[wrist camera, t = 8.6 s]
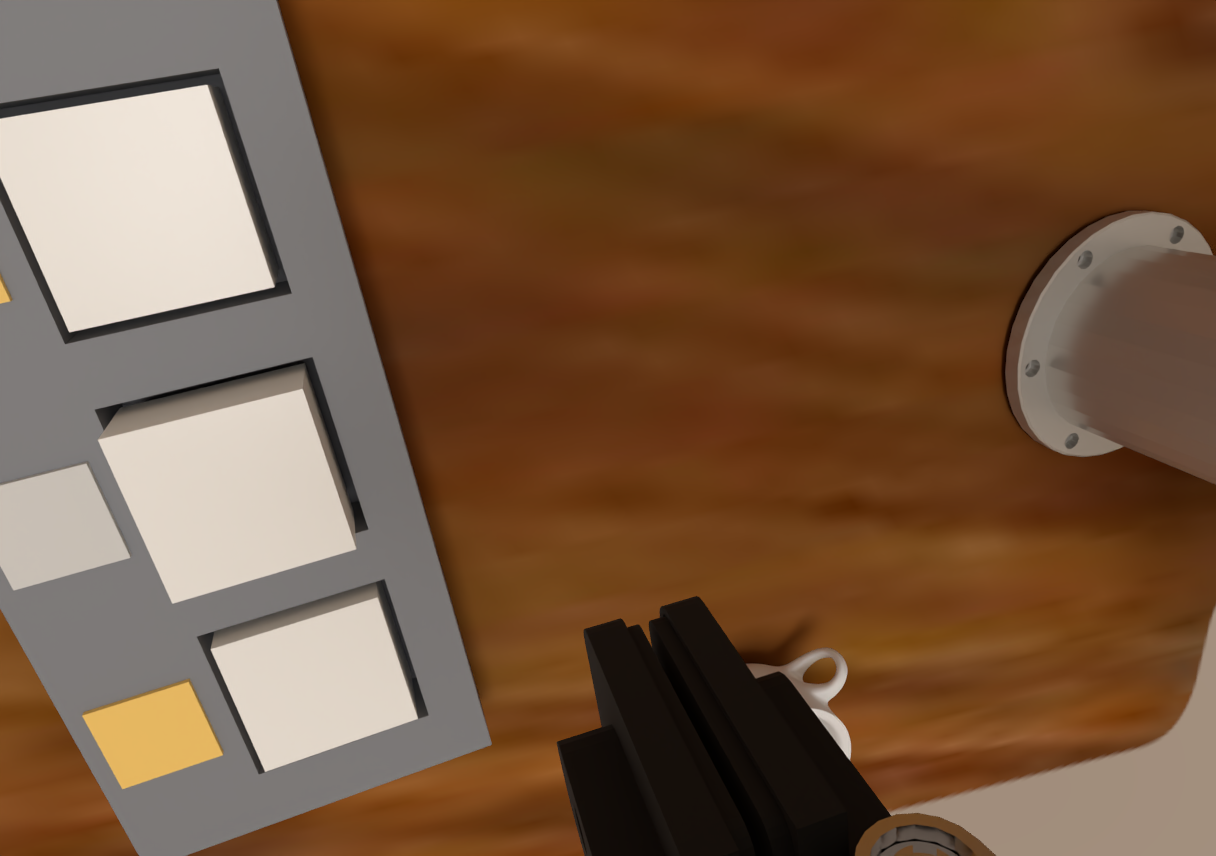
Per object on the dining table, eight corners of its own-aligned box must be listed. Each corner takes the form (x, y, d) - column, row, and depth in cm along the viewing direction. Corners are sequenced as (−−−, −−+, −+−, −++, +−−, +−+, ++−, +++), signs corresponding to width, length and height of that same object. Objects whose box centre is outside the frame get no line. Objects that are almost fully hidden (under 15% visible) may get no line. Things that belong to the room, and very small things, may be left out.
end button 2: (219, 87, 26) (207, 84, 24) (279, 271, 29) (274, 287, 26) (13, 121, 25) (-25, 122, 22) (94, 311, 27) (69, 332, 25)
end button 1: (373, 558, 34) (377, 597, 31) (411, 673, 36) (418, 718, 33) (220, 604, 32) (210, 649, 30) (269, 721, 35) (265, 772, 32)
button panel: (269, -27, 26) (263, -44, 23) (479, 700, 38) (492, 747, 35) (-247, 44, 23) (-327, 34, 20) (160, 811, 35) (145, 873, 32)
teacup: (727, 784, 45) (774, 864, 40) (630, 731, 42) (669, 811, 37) (847, 648, 44) (910, 713, 40) (758, 583, 41) (816, 645, 36)
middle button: (304, 362, 29) (302, 388, 26) (353, 511, 31) (356, 549, 28) (119, 407, 27) (97, 440, 25) (186, 559, 30) (172, 603, 27)
